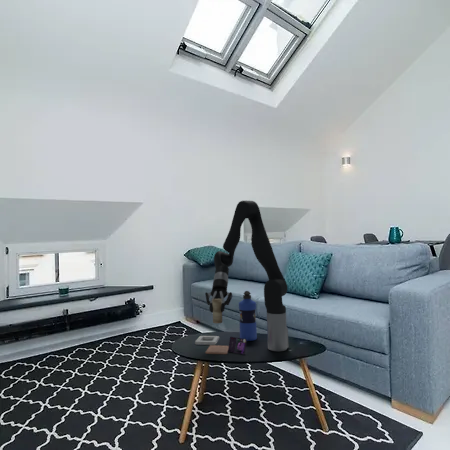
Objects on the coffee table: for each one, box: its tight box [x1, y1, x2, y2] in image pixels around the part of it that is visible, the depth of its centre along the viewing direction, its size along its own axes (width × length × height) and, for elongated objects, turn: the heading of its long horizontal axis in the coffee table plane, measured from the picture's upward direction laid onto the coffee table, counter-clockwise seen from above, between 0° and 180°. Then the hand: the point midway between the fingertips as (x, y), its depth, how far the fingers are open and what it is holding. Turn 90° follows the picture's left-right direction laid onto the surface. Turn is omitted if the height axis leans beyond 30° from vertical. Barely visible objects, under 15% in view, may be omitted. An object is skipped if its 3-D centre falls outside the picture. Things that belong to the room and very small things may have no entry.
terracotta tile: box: [205, 344, 229, 355], centre depth 160 cm, size 10×10×1 cm
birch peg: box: [211, 298, 223, 324], centre depth 161 cm, size 4×4×11 cm
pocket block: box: [194, 335, 220, 346], centre depth 174 cm, size 10×10×2 cm
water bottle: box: [238, 290, 258, 342], centre depth 179 cm, size 9×9×25 cm
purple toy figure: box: [228, 336, 248, 355], centre depth 158 cm, size 7×5×9 cm
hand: (216, 311), depth 159 cm, fingers closed on birch peg, 4 cm apart
